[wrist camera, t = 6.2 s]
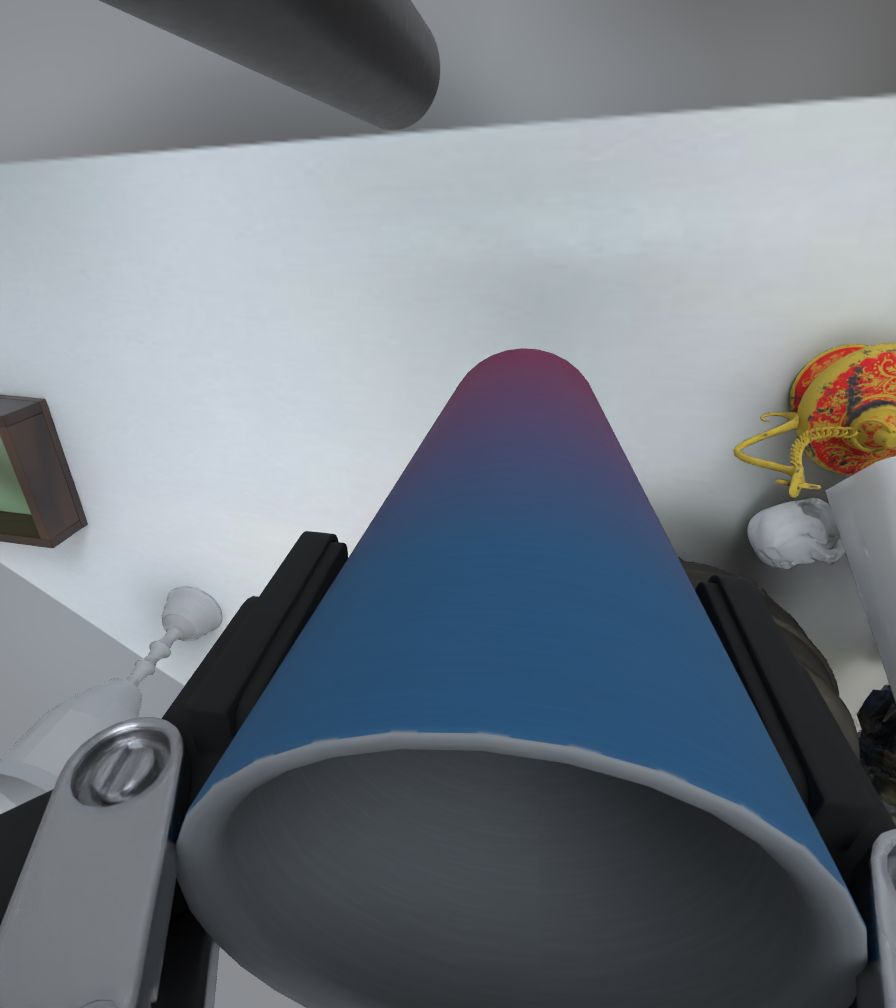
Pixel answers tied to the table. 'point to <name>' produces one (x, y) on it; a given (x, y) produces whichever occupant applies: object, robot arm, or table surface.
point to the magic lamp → (838, 413)
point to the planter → (872, 548)
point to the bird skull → (796, 534)
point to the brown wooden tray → (34, 477)
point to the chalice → (97, 705)
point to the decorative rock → (880, 744)
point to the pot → (794, 651)
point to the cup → (516, 755)
